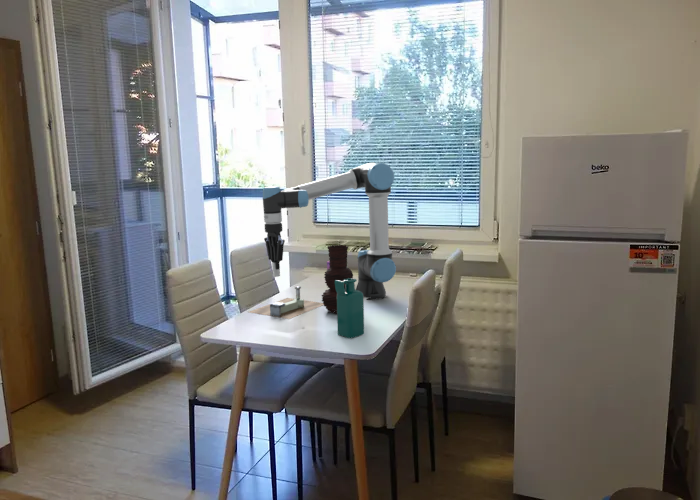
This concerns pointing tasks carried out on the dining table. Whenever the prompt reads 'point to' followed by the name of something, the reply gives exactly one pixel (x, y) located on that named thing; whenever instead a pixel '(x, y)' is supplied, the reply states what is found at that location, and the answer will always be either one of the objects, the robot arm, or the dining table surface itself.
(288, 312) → the board
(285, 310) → the link
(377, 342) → the dining table surface
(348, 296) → the green bottle
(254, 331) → the dining table surface
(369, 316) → the dining table surface
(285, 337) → the dining table surface
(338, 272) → the vase
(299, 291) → the peg
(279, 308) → the block
